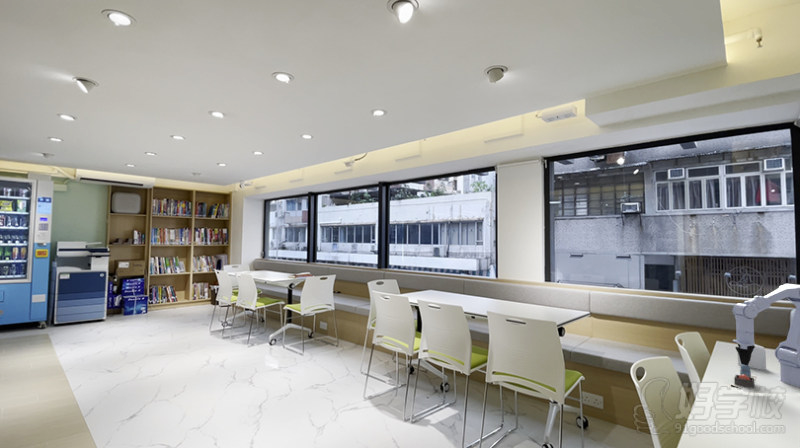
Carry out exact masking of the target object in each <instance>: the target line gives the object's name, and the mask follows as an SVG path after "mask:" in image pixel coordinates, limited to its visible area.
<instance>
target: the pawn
mask: <svg viewBox="0 0 800 448" xmlns="http://www.w3.org/2000/svg"><path fill="white" fill-rule="evenodd" d="M739 372H740V373H739V375H747V376H748V377H751V374H752V371H751V367H749V366H748V365H740V369H739ZM751 378H752V377H751Z"/></svg>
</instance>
